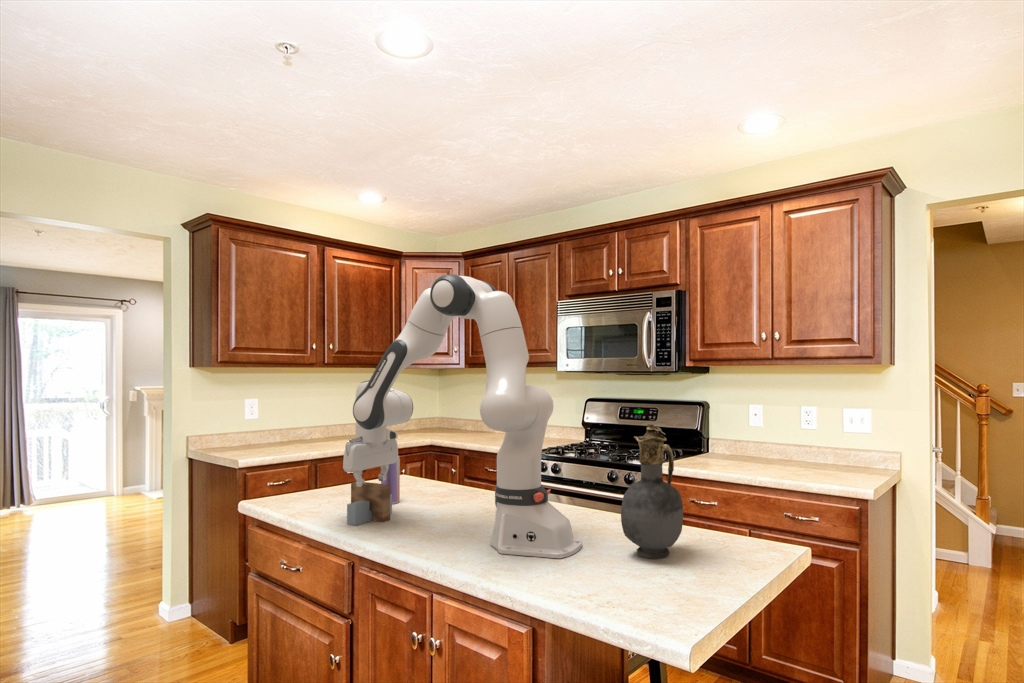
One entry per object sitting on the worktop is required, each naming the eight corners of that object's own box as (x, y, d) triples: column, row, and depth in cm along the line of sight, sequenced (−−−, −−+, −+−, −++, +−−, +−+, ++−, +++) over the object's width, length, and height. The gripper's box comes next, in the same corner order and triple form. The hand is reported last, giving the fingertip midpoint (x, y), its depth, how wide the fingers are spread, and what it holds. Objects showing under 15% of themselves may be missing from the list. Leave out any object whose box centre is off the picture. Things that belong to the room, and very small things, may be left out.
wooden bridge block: (390, 519, 172) (390, 484, 173) (383, 522, 169) (383, 486, 170) (357, 515, 178) (358, 481, 178) (350, 517, 175) (351, 483, 175)
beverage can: (389, 505, 190) (389, 458, 191) (377, 503, 193) (377, 456, 194) (403, 502, 195) (403, 455, 195) (391, 499, 198) (391, 454, 199)
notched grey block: (391, 513, 180) (392, 494, 180) (355, 525, 166) (355, 505, 166) (384, 512, 181) (384, 493, 182) (347, 524, 167) (347, 504, 167)
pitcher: (615, 557, 136) (613, 425, 138) (653, 538, 151) (651, 419, 152) (659, 567, 130) (657, 428, 131) (694, 546, 144) (692, 422, 146)
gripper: (354, 439, 164) (355, 490, 163) (401, 432, 182) (401, 478, 181) (337, 439, 167) (337, 489, 166) (384, 431, 185) (385, 477, 184)
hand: (371, 483), depth 174 cm, fingers open, 8 cm apart
